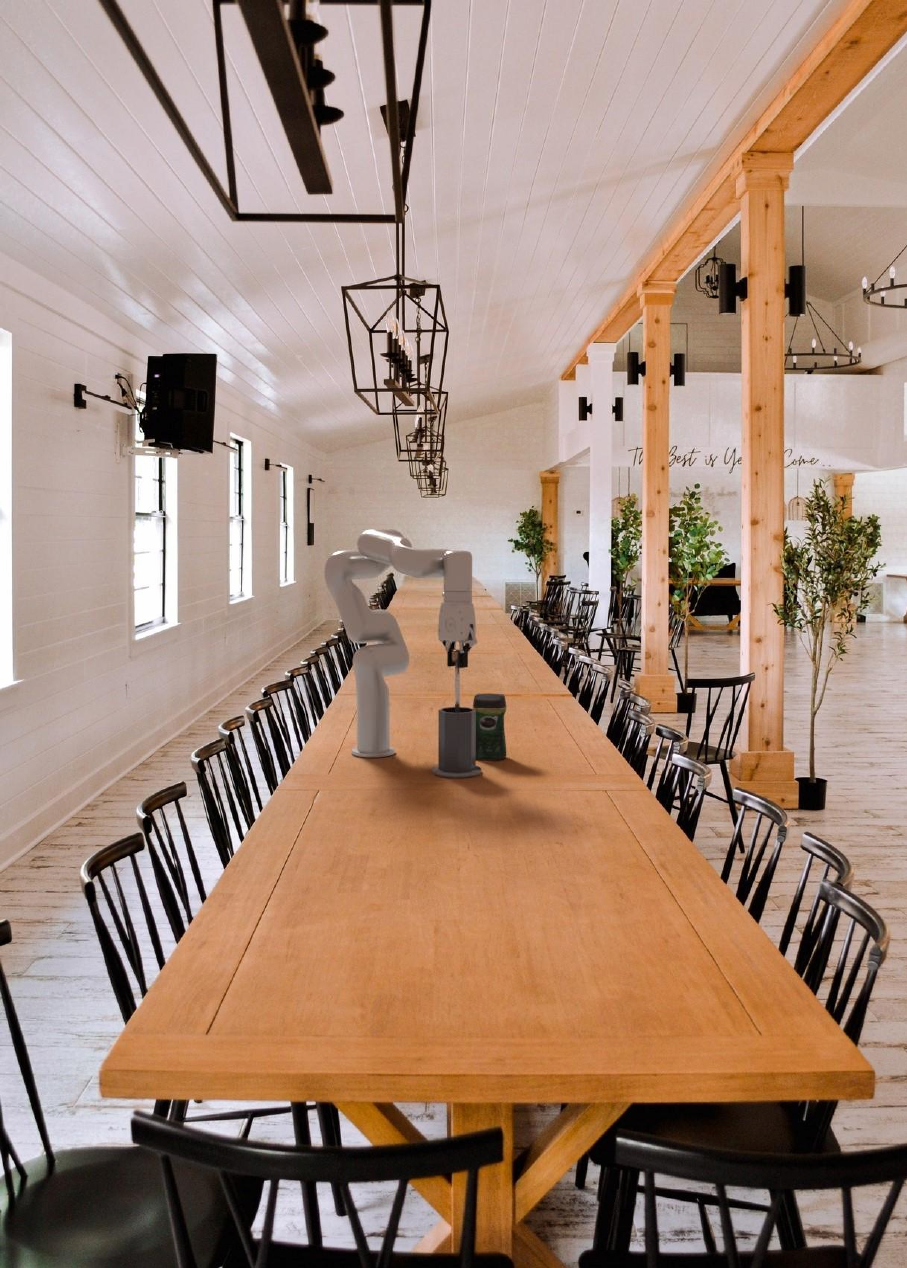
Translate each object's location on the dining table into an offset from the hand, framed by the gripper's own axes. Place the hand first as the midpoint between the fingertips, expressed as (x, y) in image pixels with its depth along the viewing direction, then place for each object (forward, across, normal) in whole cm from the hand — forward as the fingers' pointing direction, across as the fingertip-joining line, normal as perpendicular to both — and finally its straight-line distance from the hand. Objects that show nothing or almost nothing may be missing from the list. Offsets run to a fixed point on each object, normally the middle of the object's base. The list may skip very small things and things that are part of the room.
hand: (457, 666), depth 275 cm
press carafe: (+29, 0, 0) cm, 29 cm away
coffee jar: (+29, -6, +19) cm, 35 cm away
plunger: (+18, 0, 0) cm, 18 cm away
